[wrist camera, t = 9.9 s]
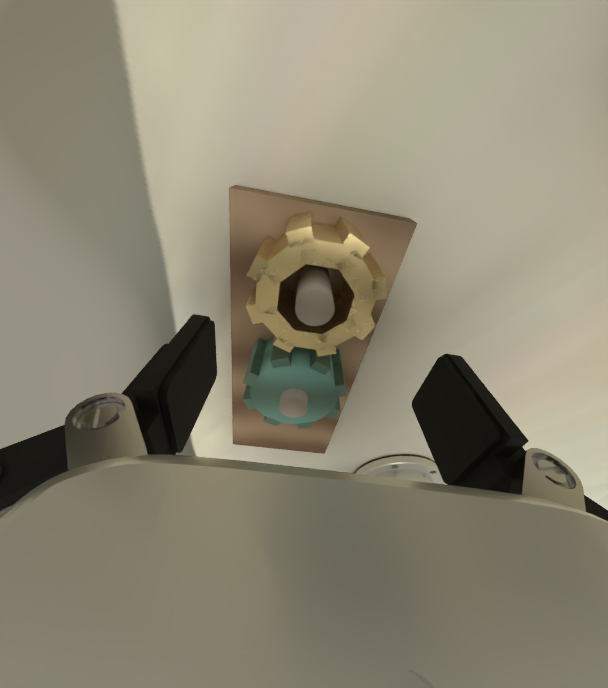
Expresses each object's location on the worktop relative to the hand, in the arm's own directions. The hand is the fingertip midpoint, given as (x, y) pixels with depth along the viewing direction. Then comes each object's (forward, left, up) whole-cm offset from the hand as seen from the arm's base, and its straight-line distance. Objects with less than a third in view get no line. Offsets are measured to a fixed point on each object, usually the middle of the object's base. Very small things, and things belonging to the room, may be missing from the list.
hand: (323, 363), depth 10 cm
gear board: (-7, +4, -10) cm, 13 cm away
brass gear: (+1, 0, -8) cm, 8 cm away
